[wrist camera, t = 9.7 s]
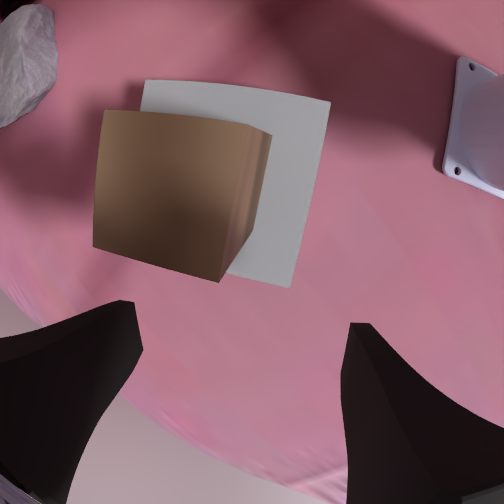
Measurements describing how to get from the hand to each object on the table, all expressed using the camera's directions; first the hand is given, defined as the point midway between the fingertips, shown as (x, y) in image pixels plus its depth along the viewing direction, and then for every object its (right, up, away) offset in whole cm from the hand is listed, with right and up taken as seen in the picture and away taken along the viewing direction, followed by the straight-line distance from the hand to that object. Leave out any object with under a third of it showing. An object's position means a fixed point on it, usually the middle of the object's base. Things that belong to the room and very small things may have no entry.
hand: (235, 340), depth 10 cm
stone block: (-20, +18, +9) cm, 29 cm away
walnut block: (-1, +6, +4) cm, 8 cm away
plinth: (0, +7, +8) cm, 11 cm away
